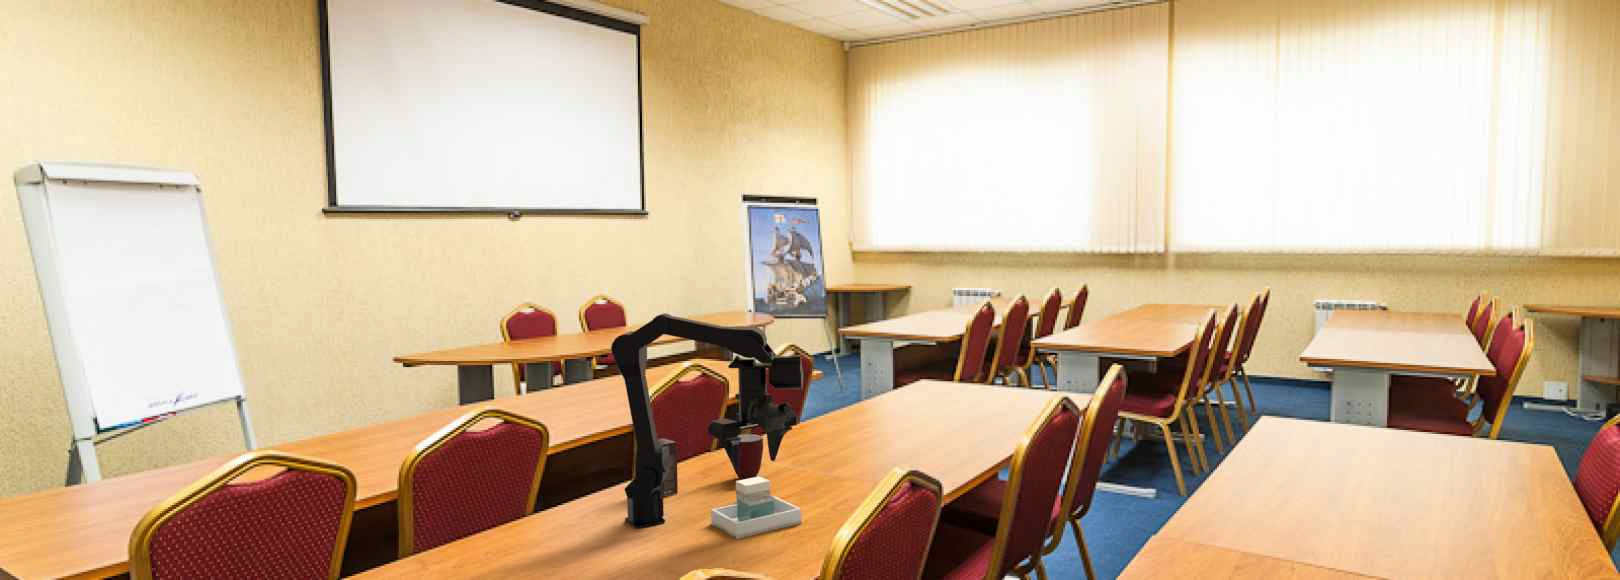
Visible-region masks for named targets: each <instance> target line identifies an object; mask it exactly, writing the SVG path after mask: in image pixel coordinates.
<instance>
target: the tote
mask: <svg viewBox="0 0 1620 580" xmlns="http://www.w3.org/2000/svg"><path fill="white" fill-rule="evenodd" d="M771 496H772V497H774V498H775V500H774V514H772V515H768V516H763V517H759V518H754V519H750V520H746V521H739V520H738V517H737V503H735V504H731V505H725V506H722V507H715V508H711V509H710V520H711V521H710V523H711V524H710V525H712V526H714V527H716V528H718V529H720V530H722V531H723V532H725V533H727V534H728V535H730V536H732V537H734V538H735V539H737V540H738V539H742V538H746V537H750V536H754V535H758V534H763V533H768V532H771V531H776V530H779V529H783V528H784V529H785V528H788V527H791V526H797V525H800V524H803V523H802V522H803V520H802V519H803V517H802V515H803V513H802V511H803V510H802V508H800V507H798V506H796V505H794V504H792V503H789V502H788V501H785V500H784V499H781V498H778V497H776V496H774V495H771Z"/></svg>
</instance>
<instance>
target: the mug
mask: <svg viewBox="0 0 1620 580" xmlns="http://www.w3.org/2000/svg"><path fill="white" fill-rule="evenodd" d="M737 437H740V438H741V440H740V442H739V444H738V452H739V467H738V469H734V468H733V470H734V472H735V474H736V476H737V478H738V479H739V480H744V479H749V478H754V477H758V475H759V472H760V469H761V466H762V460H763V452H764V437H763V436H762V435H760V434H751V433H750V434H749V433H747V434H746V433H744V434H739V435H738V436H737Z"/></svg>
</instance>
